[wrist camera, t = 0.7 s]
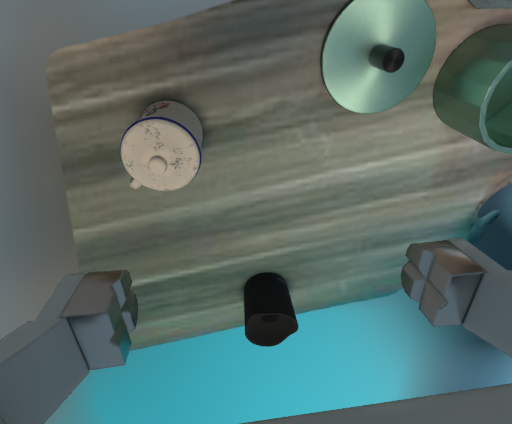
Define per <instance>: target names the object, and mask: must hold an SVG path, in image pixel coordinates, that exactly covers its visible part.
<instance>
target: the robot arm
mask: <svg viewBox="0 0 512 424" xmlns="http://www.w3.org/2000/svg"><path fill="white" fill-rule="evenodd" d="M406 256H407V258H408V260H409V261H408V262H407V263H406V264H405V265H404V266H403V268H402V273H401V280H402V286H403V288H404V290H405V292H406V293H407V295H408V296H409V297H410V298H411V299H413V300H415V301H417V302H419V303H420V305H419V310H420V311H421V312H422V313H423V315H424V316H425V317H426V318H427V319H428V321H429V322H430V323H431V324H432V326H433V327H440V326H451V325H461V324H463V327H465V328H467V329H468V330H470V331H471V332H473V333H474V334H476V335H477V336H479V337H481V338H482V339H484V340H485V341H487V342H488V343H490V344H492V345H493V346H495V347H496V348H498V349H499V350H501V351H502V352H504V353H506V354H507V355H509V356H510V357H512V270H510V271H507V270H505V269H504V268H503V267H502V266H500V265H499V264H498V263H496V262H495V261H493V260H492V259H491V258H489V257H488V256H487V255H485V254H484V253H483V252H481V251H480V250H479V249H477V248H476V247H474V246H473V245H472V244H470V243H469V242H468V241H466V240H464V239H461V238H456V239H448V240H443V241H435V242H424V243H414V244H411V245H410V246H409V247H408V249H407V253H406ZM131 284H132V279H131V276H130V273H129V272H128V271H127V270H117V271H103V272H89V273H78V274H69V275H67V276H65V277H64V278H63V279H62V281H61V282H60V284H59V285H58V287H57V288H56V290H55V291H54V293H53V294H52V296H51V297H50V299H49V300H48V302H47V303H46V305H45V306H44V308H43V309H42V311H41V312H40V314H39V315H38V317H37V318H36V320H35V321H28V322H27V323H25V324H23V325H22V326H21V327H19V328H17V329H16V330H14V331H13V332H11V333H10V334H8V335H7V336H5V337H4V338H2V339H1V340H0V424H44V423H45V422H46V421H47V420H48V418H49V417H50V416H51V415H52V414H53V413H54V412H55V411H56V409H57V408H58V407H59V406H60V405H61V404H62V403H63V402H64V400H65V399H66V398H67V397H68V396H69V395H70V394H71V393H72V391H73V390H74V389H75V388H76V387H77V386H78V385H79V384H80V383H81V381H82V380H83V379H84V378H85V377H86V376H87V375H88V373H89V370H96V369H102V368H109V367H115V366H121V365H125V363H126V359H127V356H128V353H129V349H130V345H131V340H130V336H129V334H130V333H131V332H132V331H133V330H134V329H135V327H136V323H137V319H138V303H137V298H136V294H135V293H133V292H132V291H131V290H130V287H131ZM241 424H512V384H505V385H498V386H491V387H485V388H478V389H472V390H465V391H458V392H452V393H445V394H438V395H431V396H424V397H418V398H411V399H404V400H397V401H391V402H384V403H378V404H371V405H364V406H358V407H350V408H343V409H337V410H330V411H323V412H317V413H309V414H302V415H296V416H289V417H282V418H275V419H269V420H262V421H255V422H248V423H241Z"/></svg>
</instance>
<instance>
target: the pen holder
mask: <svg viewBox="0 0 512 424" xmlns="http://www.w3.org/2000/svg"><path fill="white" fill-rule="evenodd" d="M244 312H245V335H246V338H247V339H248V340H249V341H250V342H252V343H253V344H256V345H259V346H274V345H277V344H279V343H281V342H282V341H283V340H284V339H286V338H287V337H288V336H289V335H291V334H293V333H294V332H296V331H297V330H298V324H297V320H296V316H295V312H294V309H293V305H292V302H291V298H290V295H289V291H288V288H287V285H286V282H285V281H284V280H283V279H282V278H281V277H280V276H278V275H275V274H270V273H265V274H260V275H257V276H255V277H253V278H251V279H250V280H249V281H248V282H247V284H246V285H245V288H244Z"/></svg>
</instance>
